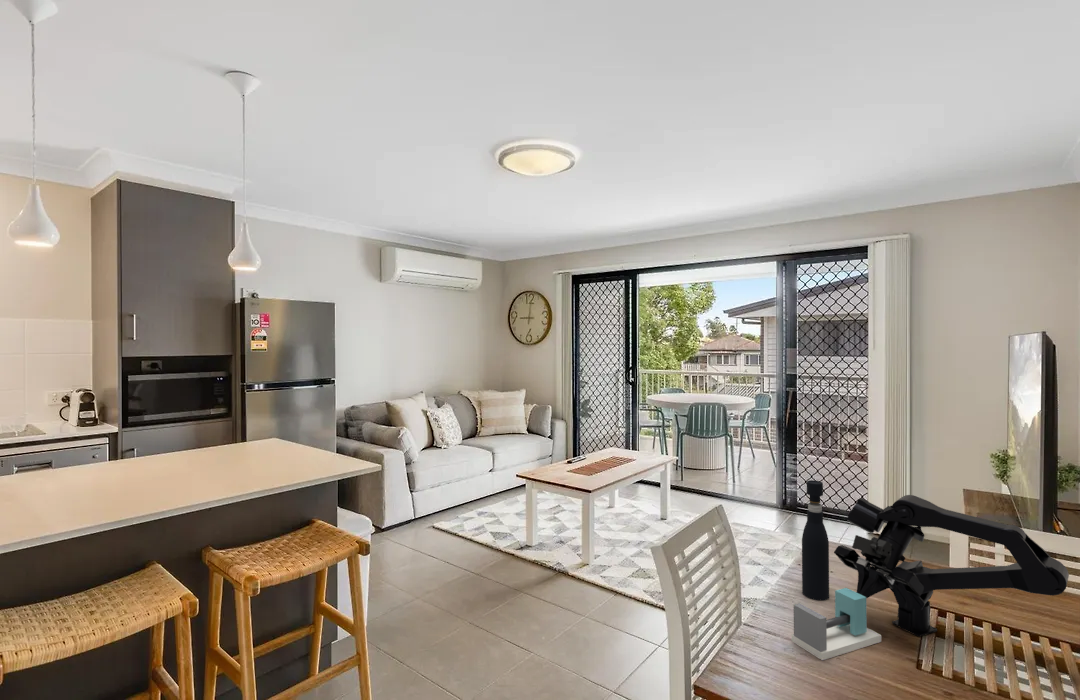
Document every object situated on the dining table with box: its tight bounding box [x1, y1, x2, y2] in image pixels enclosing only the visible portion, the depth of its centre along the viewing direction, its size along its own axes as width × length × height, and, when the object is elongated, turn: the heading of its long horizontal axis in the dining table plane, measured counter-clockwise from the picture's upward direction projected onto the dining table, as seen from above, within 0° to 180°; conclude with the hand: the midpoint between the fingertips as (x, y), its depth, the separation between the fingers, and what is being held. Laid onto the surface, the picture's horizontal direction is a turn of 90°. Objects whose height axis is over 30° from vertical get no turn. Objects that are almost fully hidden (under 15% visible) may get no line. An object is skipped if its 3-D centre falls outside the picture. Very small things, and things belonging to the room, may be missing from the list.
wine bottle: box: [801, 480, 830, 601], centre depth 143 cm, size 6×6×30 cm
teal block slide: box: [791, 602, 882, 661], centre depth 121 cm, size 18×8×8 cm, turn 112°
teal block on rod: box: [834, 587, 868, 635], centre depth 123 cm, size 4×5×8 cm
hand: (858, 599), depth 124 cm, fingers closed
